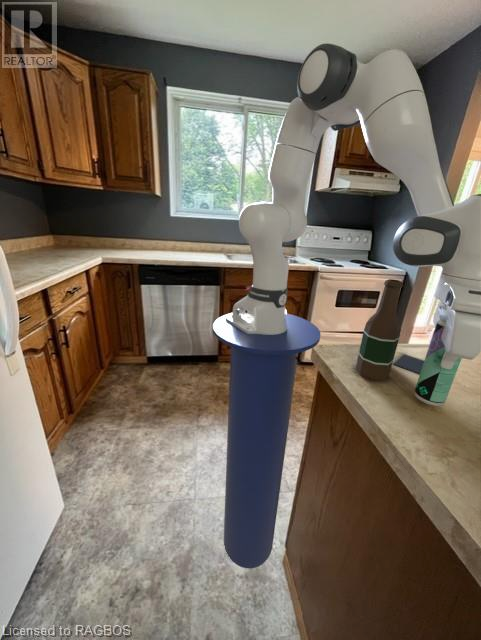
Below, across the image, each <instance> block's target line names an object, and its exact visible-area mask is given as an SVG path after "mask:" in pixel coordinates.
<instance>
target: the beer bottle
mask: <svg viewBox="0 0 481 640" xmlns="http://www.w3.org/2000/svg"><path fill="white" fill-rule="evenodd" d="M383 285H384V288H383V291H382V295H381V298H380V301H379V304H378V307H377V310H376V311H375V313H373V314H372V315H371V316H370V317H369V319H368V320H367V321H366V323H365V325H364V329H363V332H362V336H361V337H362V338H361V341H360V346H359V351H358V355H357V359H356V364H355V365H356V366H355V370H356V371H357V372H358V374H359V376H360V377H361V376H362V377H364V378H366V379H368V380H371V381H380V382H381V381H384V380H386V379H387V378H388V377H389V376H390V373H391V370H392V366H393V364H394V363H393V362H394V359H395V355H396V351H397V348H398V344H399V341H400V336H401V331H402V330H401V323H400V320H399V318H398V316H397V314H398V313H397V312H398V306H399V299H400V294H401V289H402V287H404V282H403V281H401V280H400V279H394V278H393V279H392V278H390V279H385V281H384V282H383Z"/></svg>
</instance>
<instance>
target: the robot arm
mask: <svg viewBox="0 0 481 640" xmlns="http://www.w3.org/2000/svg"><path fill="white" fill-rule="evenodd" d="M296 90H297V95H298V96H297V97H295V98H293V99H292V101H290V103H289V104H288V107H287V109H286V112H285V113H284V116H283V119H282V122H281V124H280V128H279V131H278V134H277V138H276V140H275V144H274V149H273V153H272V157H271V161H270V165H269V168H268V174H267V175H268V177H267V178H268V180H269V181H268V182H269V183H270V184H271V189H272V201H271V202H266V201H260V202H254V203H250V204H248V205H246V206H245V207H244V208H242V210H241V212H240V214H239V217H238V229H239V232H240V234H241V236H242V237H243V238H244V239H245V241H247V244H248V245H249V249H250V252H251V256H252V265H253V266H252V284H251V285H248V286H247V287H246V289H245V291H248V292H247V295H246V296H243V298H241V299H240V300H238V301H237V302H235V303H234V305H233V307H232V312H231V313H232V314H230V315H228V316H227V317H226V319H225V320H226V321H228V322H229V323H231V324H232V325H234V326H235V327H237V328H239V329H240V330H242V331H243V332H245V333H247V334H263V335H276V334H281V333H284V332H285V331H286V330H287V325H286V317H285V314H288V312H287V309H286V304H287V300H288V291H289V290H288V289H289V288H288V279H289V278H288V277H289V268H290V265H289V264H290V263H289V261H288V260H287V259H286V258H285V255H284V251H283V243H289V242H292V241H295V240H298V239H300V238H301V237H302V236H303V235H304V233H305V232H306V230H307V227H308V218H307V215H306V212H305V202H306V193H307V186H308V183H309V178H310V175H311V172H312V168H313V165H314V162H315V158H316V155H317V152H318V149H319V145H320V142H321V140H322V139H321V138H322V137H323V135H324V133H325V132H326V130H328V129H329V128H331V130H332V131H334V132H337V131H340V130H344V129H349V128H350V129H351V128H355V127H359V126H360V127H361V130H362V133H363V138H364V141H365V144H366V146H367V149H368V151H369V153H370V155H371V156H372V158H373V160H374V161H375V163H377V164H378V165H379V166H381V167H383V168H385V169H386V170H387V171H389V172H391V174H393V175H395V176H396V177H397V178H398V179H399V180H401V182H403V184H404V185H405V186H406V188H407V189H408V192H409V194H410V196H411V200H412V203H413V205H414V208H415V212H416V214H417V216H414V217H411V218H409V219H407V220H406V221H404V222H403V223H402V224H401V225H400V226H399V228H398V229H397V230H396V232H395V234H394V237H393V240H392V250H393V254H394V255H395V258H397V260H398V261H399V262H401V263H402V264H405V265H408V266H411V267H415V268H422V267H441V268H442V270H441V273H440V276H439V280H438V283H437V287H436V290H435V293H434V298H435V299H437V300H439V301H438V303H437V307H436V309H435V312H434V315H433V318H432V323H433V324H434V328H435V327H436V324H437V321H438V320H439V317H440V316H442V315H448V320H446V324H445V327H444V330H443V333H442V336H441V340H442V342H443V344H444V346H445V353H444V355H443V356H442V357H441V360H440V365H441V367H442V368H446V369H452V367H453V365H454V362H455V361H456V360H457V359H458V358H462V360H463V359H464V360H469V361H473V360H474V359H476V358H477V357H478V356H479V354H480V353H481V193H477V194H473V195H471V196H468V198H466V199H464V200H463V201H461V202H459V203H457V204H454V203H455V202H454V201H453V198H452V195H451V191H450V189H449V186H448V183H447V180H446V177H445V174H444V171H443V168H442V165H441V163H440V159H439V155H438V150H437V149H438V148H437V144H436V141H435V137H434V132H433V131H434V130H433V127H432V120H431V115H430V111H429V106H428V102H427V98H426V93H425V90H424V88H423V83H422V82H421V78H420V76H419V74H418V73H417V70H416V68H415V66H414V64H413V62H412V60H411V59H410V58H409V56H408V54H407V53H406V52H405V51H403V50H401V49H397V48H396V49H395V48H394V49H388V50H386V51H383V52H381V53H380V54H377V56H374V58H372V60H371V61H368V62H367V63H363V62H362V61H361V60H360V59H359V58H357V55H356V53H354V52H352V51H350V50H347V49H346V48H345V47H342V46H340V45H337V44H333V43H322V44H319V45H317V46H316V47H314V48H313V49H312V50H311V51H310V52H309V53H308V54H307V56H306V57H305V59H304V61H303V63H302V65H301V67H300V68H299V72H298V76H297V81H296Z"/></svg>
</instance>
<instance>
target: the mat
mask: <svg viewBox="0 0 481 640" xmlns="http://www.w3.org/2000/svg"><path fill="white" fill-rule="evenodd" d="M424 361H425V360H423V359H420V358H417V357H414V356H411V355H408V354H405V353H403V354H402V355H401V356H400V357H399V358H398V359H397V360H395V362H394V363H393V366H397V367H400V368H402V369H405V370H407V371H411V372H414V373H416V374H418V375H420V373H421V370H422V367H423V364H424Z"/></svg>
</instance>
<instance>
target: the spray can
mask: <svg viewBox="0 0 481 640" xmlns="http://www.w3.org/2000/svg"><path fill="white" fill-rule="evenodd" d="M446 320H448V315H442V316H440V317H439V320H438V321H437V324H436V327H435V326H434V330H433V333H432V336H431V339H430V342H429V346H428V349H427V352H426V355H425V358H424V360H423V361H424V364H423V367H422V370H421V373H420V374H419V377H418V379H417V383H416V384H415V388H414V393H413V395H414V396H415V398H416V399H418V400H419V401H421V402H423V403H424V404H427V405H430V406H435V407H442V406H444V405H445V403H446V401H447V399H448V396H449V394H450V390H451V388H452V384H453V382H454V380H455V377H456V374H457V372H458V369H459V367H460V364H461V361H462V360H463V358H458V359H457V360H456V361H455V362H454V365H453V367H452V369H446V368H442V367H441V365H440V360H441V357H442V356H443V355H444V353H445V346H444V344H443V342H442V340H441V336H442V333H443V330H444V327H445V324H446Z"/></svg>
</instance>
